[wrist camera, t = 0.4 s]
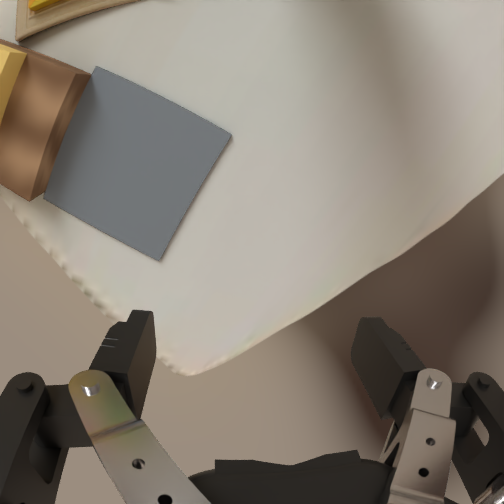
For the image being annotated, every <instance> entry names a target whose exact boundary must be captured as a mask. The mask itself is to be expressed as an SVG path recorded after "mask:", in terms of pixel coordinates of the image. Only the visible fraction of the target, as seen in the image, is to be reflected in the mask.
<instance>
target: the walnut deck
mask: <svg viewBox="0 0 504 504" xmlns="http://www.w3.org/2000/svg"><path fill="white" fill-rule="evenodd" d="M0 44H2V45H5V46H8V47H11V48H13V49H16V50H19V51H22V52H24V53H27V55H26V57H25V60H24V62H23V64H22V66H21V69H20V71H19V74H18V76H17V79H16V81H15V84H14V86H13V89H12V92H11V94H10V97H9V100H8V103H7V106H6V109H5V112H4V115H3V118H2V121H1V125H0V184H2V185H3V186H5V187H6V188H8V189H10V190H11V191H13V192H14V193H16V194H18V195H19V196H21V197H23V198H24V199H26V200H28V201H29V202H30V201H31V200H33V199H34V198H36V197H37V196H39V195H40V194H42V193H43V192H45V191H46V188H47V185H48V181H49V178H50V175H51V172H52V169H53V166H54V163H55V160H56V157H57V154H58V151H59V149H60V146H61V143H62V141H63V138H64V135H65V133H66V130H67V128H68V125H69V123H70V120H71V118H72V116H73V113H74V111H75V109H76V106H77V104H78V102H79V100H80V98H81V96H82V93H83V91H84V89H85V87H86V85H87V83H88V81H89V79H90V77H91V75H92V74H89V73H87V72H85V71H83V70H80V69H78V68H76V67H73V66H71V65H68V64H66V63H64V62H61V61H59V60H56V59H54V58H51V57H49V56H46V55H43V54H41V53H38V52H36V51H33V50H30V49H28V48H25V47H22V46H19V45H16V44H14V43H11V42H8V41H5V40H2V39H0Z"/></svg>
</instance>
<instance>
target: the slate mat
mask: <svg viewBox="0 0 504 504" xmlns="http://www.w3.org/2000/svg"><path fill="white" fill-rule="evenodd" d="M231 135H232V134H230V133H228V132H226V131H225V130H223V129H221V128H219V127H218V126H216V125H214V124H212V123H210V122H209V121H207V120H205V119H203V118H201V117H200V116H198V115H196V114H194V113H192V112H190V111H188V110H187V109H185V108H183V107H181V106H179V105H177V104H175V103H173V102H171V101H169V100H167V99H165V98H163V97H161V96H159V95H157V94H155V93H153V92H151V91H149V90H147V89H145V88H143V87H141V86H139V85H137V84H135V83H133V82H131V81H129V80H126V79H124V78H122V77H120V76H118V75H116V74H113V73H111V72H109V71H107V70H104V69H102V68H100V67H97V66H96V67H95V69H94V71H93V73H92V75H91V77H90V79H89V81H88V83H87V85H86V87H85V89H84V91H83V93H82V96H81V98H80V100H79V102H78V104H77V106H76V109H75V111H74V113H73V116H72V118H71V120H70V123H69V125H68V128H67V130H66V133H65V135H64V138H63V141H62V143H61V146H60V149H59V151H58V154H57V157H56V160H55V163H54V166H53V169H52V172H51V175H50V178H49V181H48V185H47V188H46V191H45V195H44V198H43V199H45V200H47V201H49V202H50V203H52V204H54V205H56V206H57V207H59V208H61V209H63V210H64V211H66V212H68V213H70V214H71V215H73V216H75V217H77V218H79V219H80V220H82V221H84V222H86V223H88V224H90V225H91V226H93V227H95V228H97V229H99V230H101V231H102V232H104V233H106V234H108V235H110V236H112V237H114V238H115V239H117V240H119V241H121V242H123V243H125V244H127V245H129V246H131V247H132V248H134V249H136V250H138V251H140V252H142V253H144V254H146V255H148V256H150V257H152V258H154V259H156V260H158V261H159V260H160V258H161V256H162V254H163V253H164V251H165V249H166V247H167V245H168V243H169V241H170V239H171V238H172V236H173V234H174V232H175V230H176V228H177V227H178V225H179V223H180V221H181V219H182V218H183V216H184V214H185V212H186V210H187V209H188V207H189V205H190V203H191V202H192V200H193V198H194V196H195V195H196V193H197V191H198V190H199V188H200V186H201V184H202V183H203V181H204V179H205V178H206V176H207V174H208V173H209V171H210V169H211V168H212V166H213V164H214V163H215V161H216V159H217V158H218V156H219V154H220V153H221V151H222V150H223V148H224V146H225V145H226V143H227V142H228V140H229V138H230V137H231Z"/></svg>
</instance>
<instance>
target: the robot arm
mask: <svg viewBox="0 0 504 504" xmlns="http://www.w3.org/2000/svg"><path fill="white" fill-rule="evenodd" d="M155 359H156V338H155V327H154V316H153V312H152V311H143V310H132V312H131V314H130V316H129V318H128V320H127V322H120V321H119V322H117V323H116V324H115V325H114V326H112V327H111V328H110V329H109V331H108V333H107V335H106V336H105V339H104V340H103V342H102V345H101V346H100V348H99V350H98V352H97V354H96V356H95V358H94V359H93V361H92V363H91V366H90V367H89V370H86V371H82V372H80V373H78V374H76V375H75V376H74V377H72V379H71V380H70V382H69V384H66V385H50V386H49V385H48V386H46V385H45V383H44V381H43V379H42V377H41V376H39V375H38V374H35V373H31V372H26V373H21V374H18V375H16V376H14V377H13V378H12V379H11V380H10V381H9V382H8V384H7V386H6V387H5V389H4V391H3V392H2V394H1V396H0V504H55V499H56V495H57V491H58V487H59V483H60V479H61V475H62V471H63V467H64V464H65V461H66V457H67V454H68V450H69V448H70V447H90V446H93V447H94V449H95V451H96V453H97V455H98V457H99V459H100V461H101V463H102V464H103V466H104V468H105V470H106V472H107V473H108V475H109V477H110V479H111V480H112V482H113V484H114V485H115V487H116V489H117V490H118V492H119V494H120V495H121V497H122V499H123V500H124V502H125V503H126V504H458V503H456V502H454V501H452V500H450V499H448V498H446V497H445V492H446V487H447V482H448V477H449V472H450V466H451V460H452V461H453V463H454V465H455V467H456V469H457V471H458V473H459V475H460V477H461V479H462V481H463V483H464V486H465V488H466V490H467V492H468V494H469V496H470V498H471V500H472V503H473V504H504V391H503V390H502V389H501V388H500V387H499V385H498V384H497V383H496V381H495V380H494V379H493V378H492V377H490V376H489V375H487V374H484V373H481V372H474V373H472V374H470V376H469V378H468V379H467V381H466V383H452V382H451V380H450V378H449V377H448V376H447V375H446V374H445V373H443V372H441V371H439V370H436V369H427V368H426V367H425V365H424V364H423V363H422V361H420V359H419V358H418V356H417V355H416V354H415V352H414V351H413V350H411V347H410V346H409V345H408V344H406V341H405V340H404V339H403V337H402V336H401V335H400V334H398V333H397V332H396V331H394V330H393V329H391V328H389V327H388V326H387V325H386V324H385V322H384V321H383V319H382V318H381V317H362V318H361V319H360V321H359V324H358V328H357V331H356V335H355V338H354V342H353V345H352V349H351V360H352V363H353V366H354V367H355V369H356V371H357V373H358V375H359V377H360V379H361V381H362V383H363V385H364V387H365V389H366V390H367V392H368V395H369V397H370V398H371V401H372V402H373V404H374V406H375V408H376V410H377V412H378V414H379V416H380V418H381V420H383V419H388V418H393V419H394V422H393V424H392V426H391V429H390V431H389V434H388V437H387V440H386V443H385V446H384V448H383V451H382V453H381V456H380V459H379V461H373V460H368V459H360V456H359V453H358V451H357V450H352V451H347V452H340V453H333V454H326V455H322V456H320V457H317V458H314V459H311V460H308V461H305V462H302V463H299V464H295V465H281V464H274V463H268V462H261V461H255V460H215V469H212V470H208V471H204V472H200V473H197V474H194V475H192V476H190V477H186V475H185V474H184V473H183V472H182V470H181V469H180V468H179V467H178V466H177V464H176V463H175V462H174V461H173V459H172V458H171V457H170V456H169V455H168V453H167V452H166V451H165V449H164V448H163V447H162V445H161V444H160V443H159V441H158V440H157V439H156V437H155V436H154V435H153V433H152V432H151V431H150V429H149V428H148V426H147V425H146V424H145V422H144V421H143V420H142V419H140V418H141V414H142V410H143V406H144V402H145V398H146V394H147V390H148V386H149V382H150V378H151V375H152V371H153V367H154V363H155ZM479 419H480V420H481V421H482V423H483V424H484V426H485V427H486V429H487V430H488V433H489V441H488V443H487V445H486V446H484V445H483V443H482V442H481V440H480V438H479V437H478V435H477V433H476V431H475V430H474V428H473V427H474V426H475V424H476V423H477V421H478V420H479Z"/></svg>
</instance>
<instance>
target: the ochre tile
mask: <svg viewBox="0 0 504 504" xmlns="http://www.w3.org/2000/svg"><path fill="white" fill-rule="evenodd" d="M26 55H27V53H24V52H22V51H19V50H16V49H13V48H11V47H8V46H5V45H2V44H0V125H1V121H2V118H3V115H4V112H5V109H6V106H7V103H8V100H9V97H10V94H11V92H12V89H13V86H14V84H15V81H16V79H17V76H18V74H19V71H20V69H21V66H22V64H23V62H24V60H25V57H26Z"/></svg>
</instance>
